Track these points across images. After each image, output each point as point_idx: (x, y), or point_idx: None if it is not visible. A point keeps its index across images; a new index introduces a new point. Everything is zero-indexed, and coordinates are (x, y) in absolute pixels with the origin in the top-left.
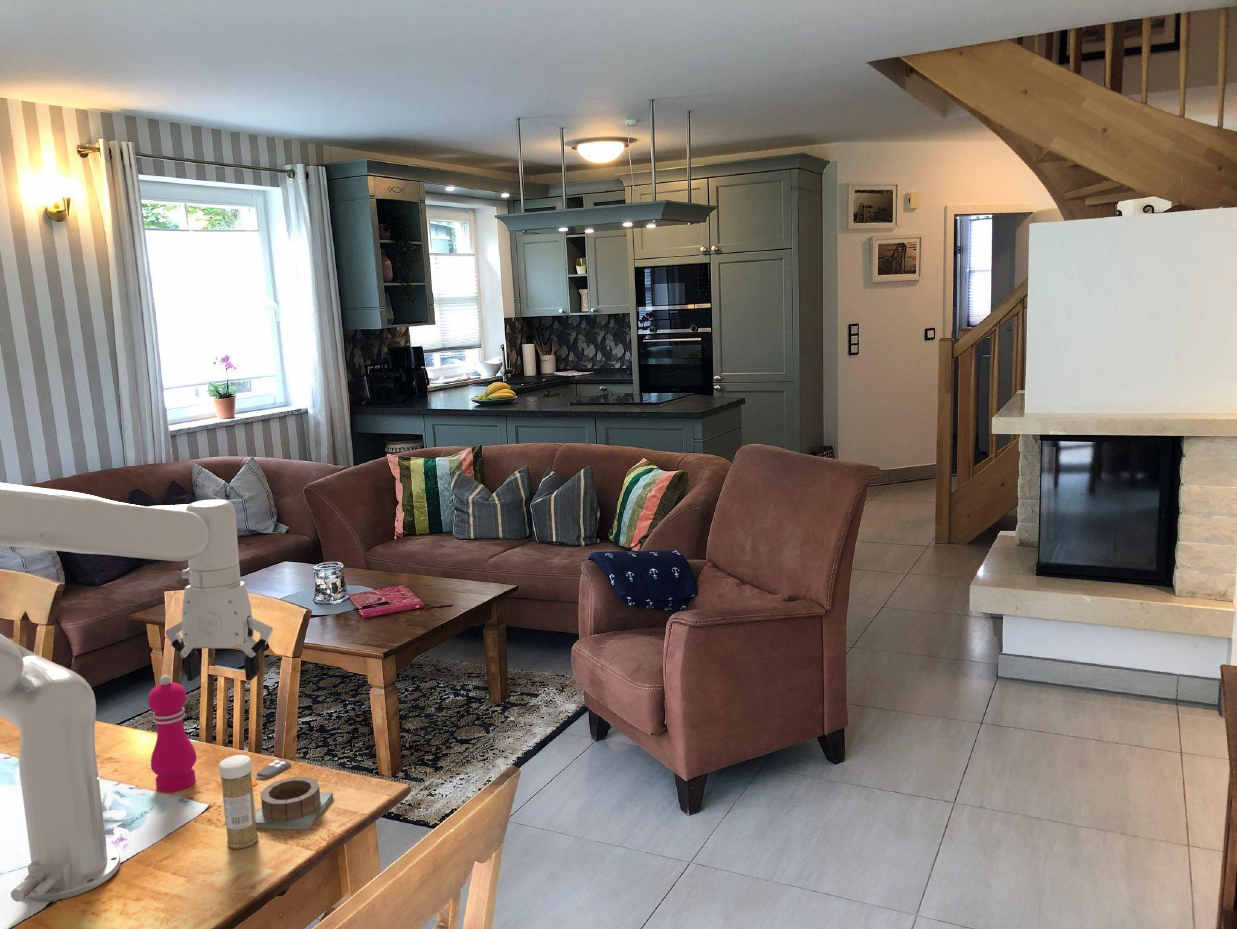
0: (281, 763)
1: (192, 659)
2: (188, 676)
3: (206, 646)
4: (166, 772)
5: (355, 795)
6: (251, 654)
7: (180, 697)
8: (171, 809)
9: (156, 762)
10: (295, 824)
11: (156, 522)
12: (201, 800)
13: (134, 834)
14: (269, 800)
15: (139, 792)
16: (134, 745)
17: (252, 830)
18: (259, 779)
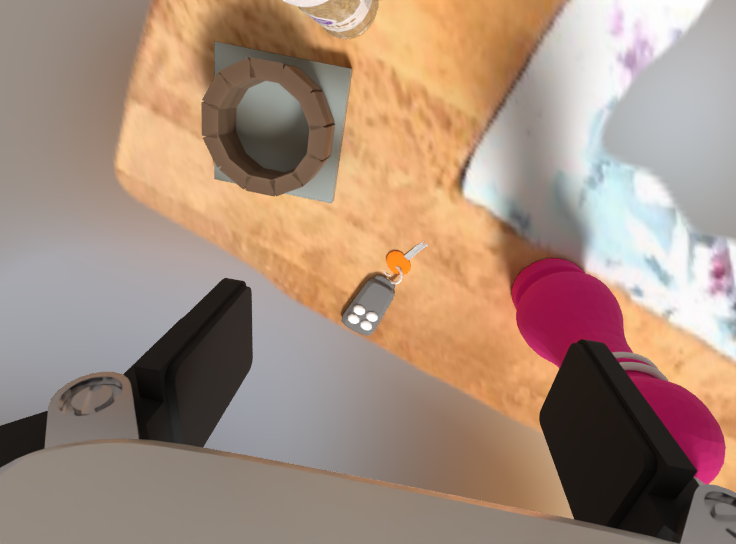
0: (353, 316)
1: (621, 469)
2: (605, 356)
3: (498, 518)
4: (573, 272)
5: (181, 180)
6: (100, 394)
7: None
8: (538, 185)
9: (605, 290)
10: (244, 47)
11: None
12: (482, 213)
13: (603, 80)
14: (293, 82)
15: (618, 270)
16: None
17: None
18: (386, 277)
